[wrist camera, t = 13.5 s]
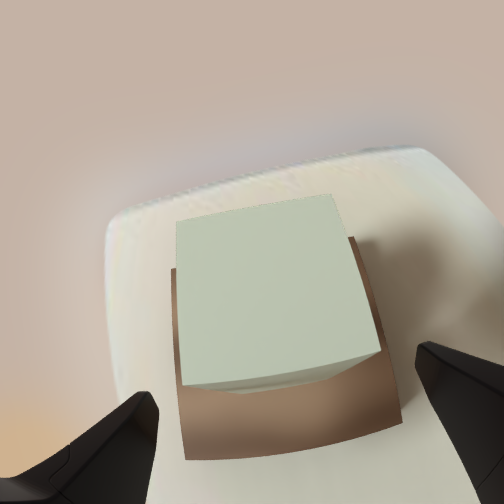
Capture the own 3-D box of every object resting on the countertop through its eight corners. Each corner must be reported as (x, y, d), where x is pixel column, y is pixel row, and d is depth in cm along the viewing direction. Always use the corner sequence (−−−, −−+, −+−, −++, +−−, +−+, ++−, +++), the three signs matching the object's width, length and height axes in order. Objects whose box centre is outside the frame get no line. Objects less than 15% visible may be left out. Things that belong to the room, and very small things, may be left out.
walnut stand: (389, 420, 15) (402, 422, 13) (197, 453, 15) (185, 460, 13) (347, 253, 21) (353, 236, 19) (182, 283, 22) (171, 268, 20)
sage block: (328, 379, 15) (381, 350, 6) (242, 394, 15) (182, 385, 6) (311, 300, 17) (331, 193, 9) (232, 314, 18) (176, 221, 9)
